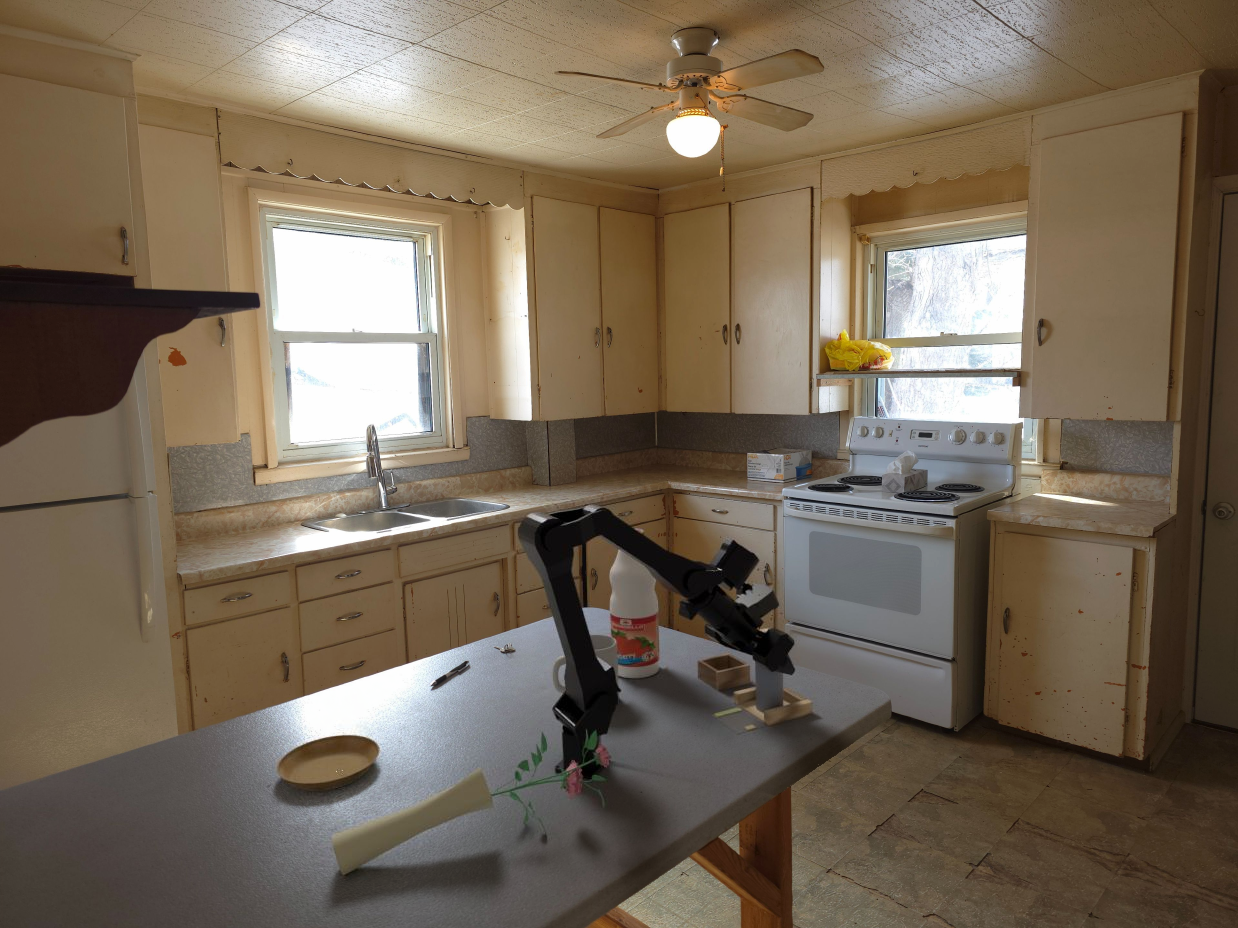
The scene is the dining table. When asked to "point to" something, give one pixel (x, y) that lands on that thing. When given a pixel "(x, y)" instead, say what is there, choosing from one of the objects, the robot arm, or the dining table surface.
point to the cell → (768, 687)
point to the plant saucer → (328, 762)
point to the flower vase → (449, 809)
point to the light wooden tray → (790, 710)
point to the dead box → (723, 671)
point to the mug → (603, 649)
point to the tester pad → (738, 720)
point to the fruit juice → (634, 617)
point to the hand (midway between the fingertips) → (776, 663)
